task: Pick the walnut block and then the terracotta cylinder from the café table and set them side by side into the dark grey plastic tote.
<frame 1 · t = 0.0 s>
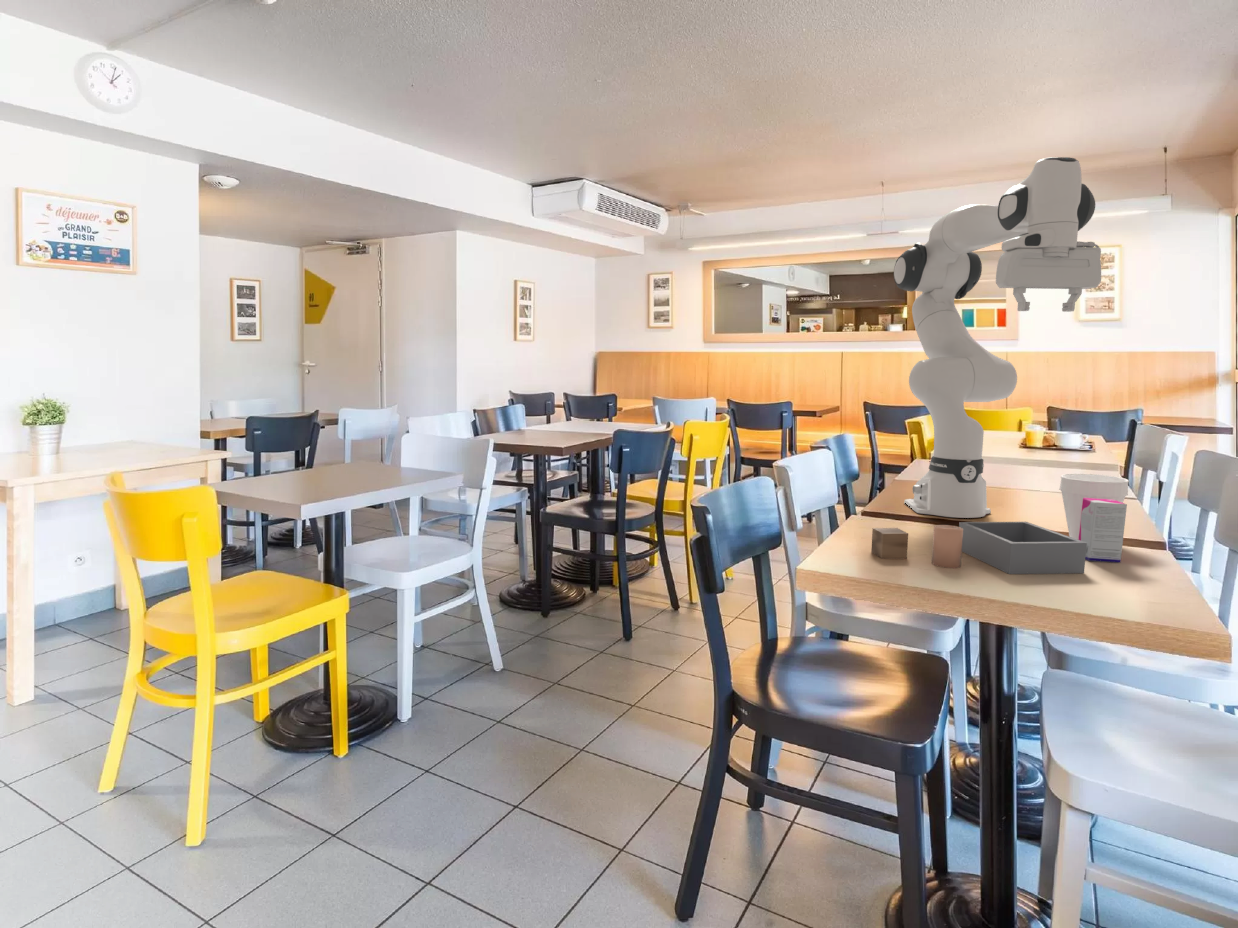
hand: (1045, 311, 150), 48 cm above the table, fingers open, 8 cm apart
cylinder: (946, 564, 139), on the table
supplement box: (1098, 559, 144), on the table
cup: (1088, 541, 158), on the table
tote: (1016, 560, 142), on the table
block: (888, 555, 145), on the table
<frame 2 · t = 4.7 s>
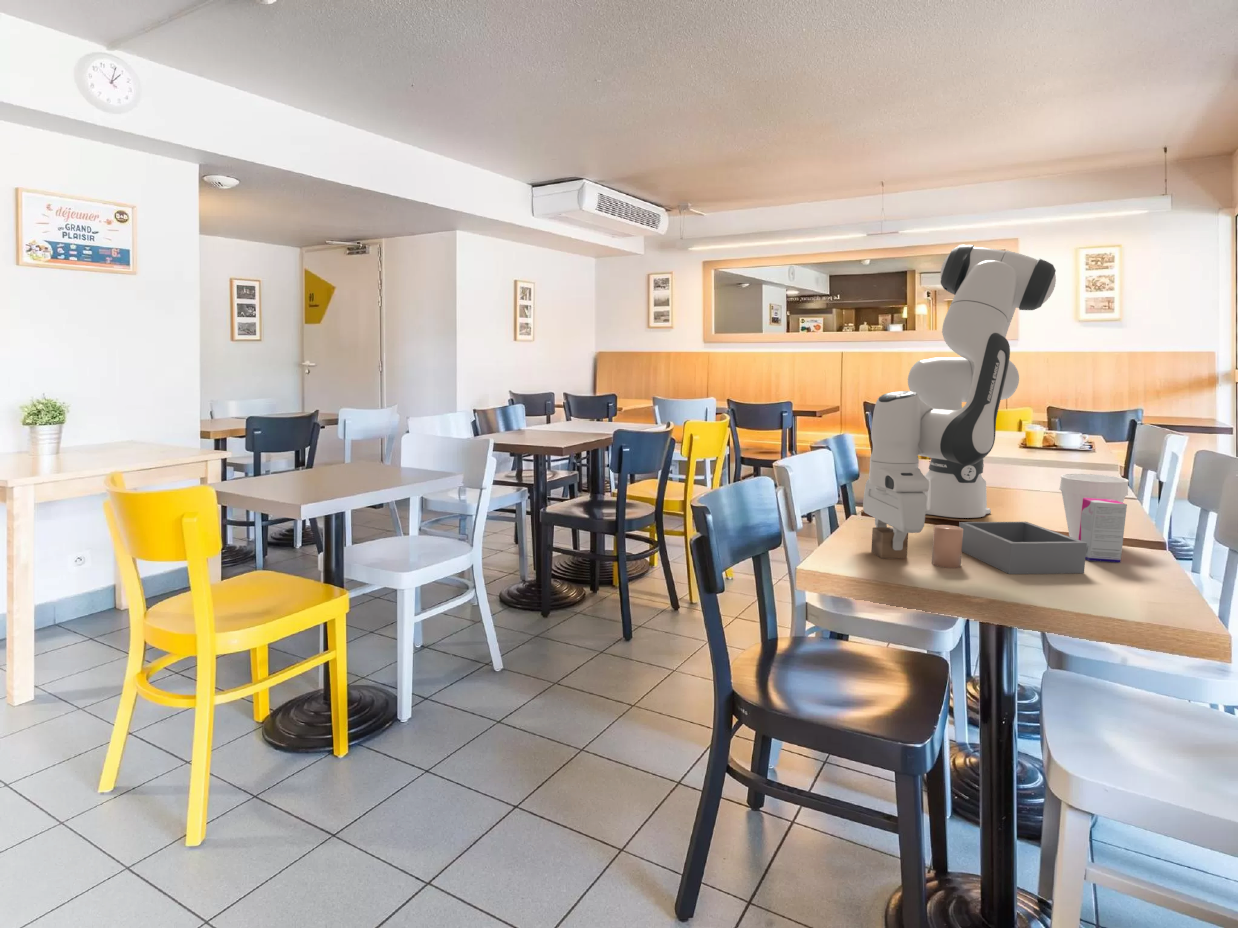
hand: (889, 545, 145), 2 cm above the table, fingers closed on block, 5 cm apart
block: (888, 555, 145), on the table, touching gripper
everything else where it was.
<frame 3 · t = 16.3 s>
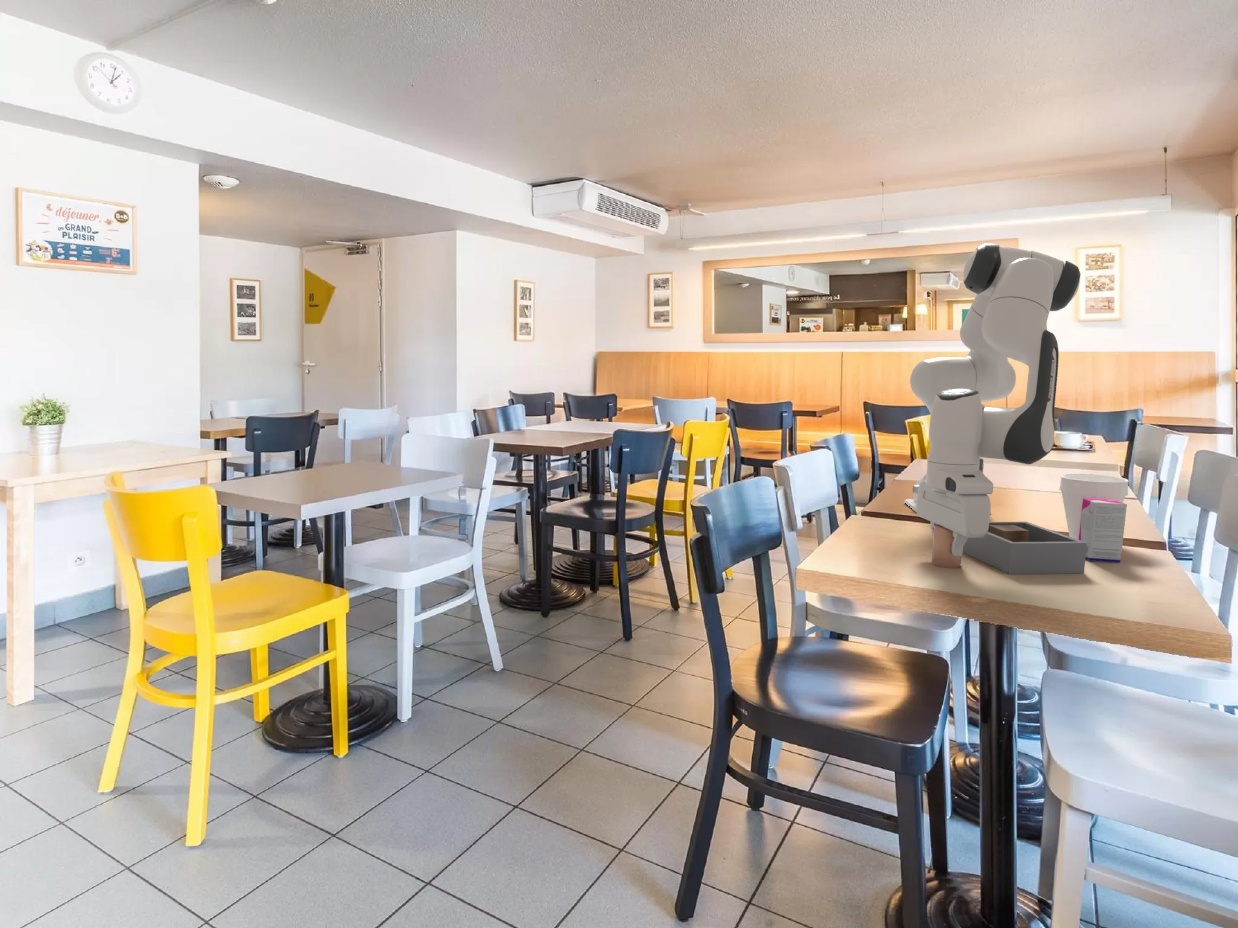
hand: (947, 550, 138), 3 cm above the table, fingers closed on cylinder, 5 cm apart
cylinder: (946, 564, 139), on the table, touching gripper
block: (1006, 552, 145), point 1 cm above the table, touching tote
everything else where it was.
when the fingers open (6 cm above the table, at t = 22.4 s): cylinder drops 3 cm, resting on tote.
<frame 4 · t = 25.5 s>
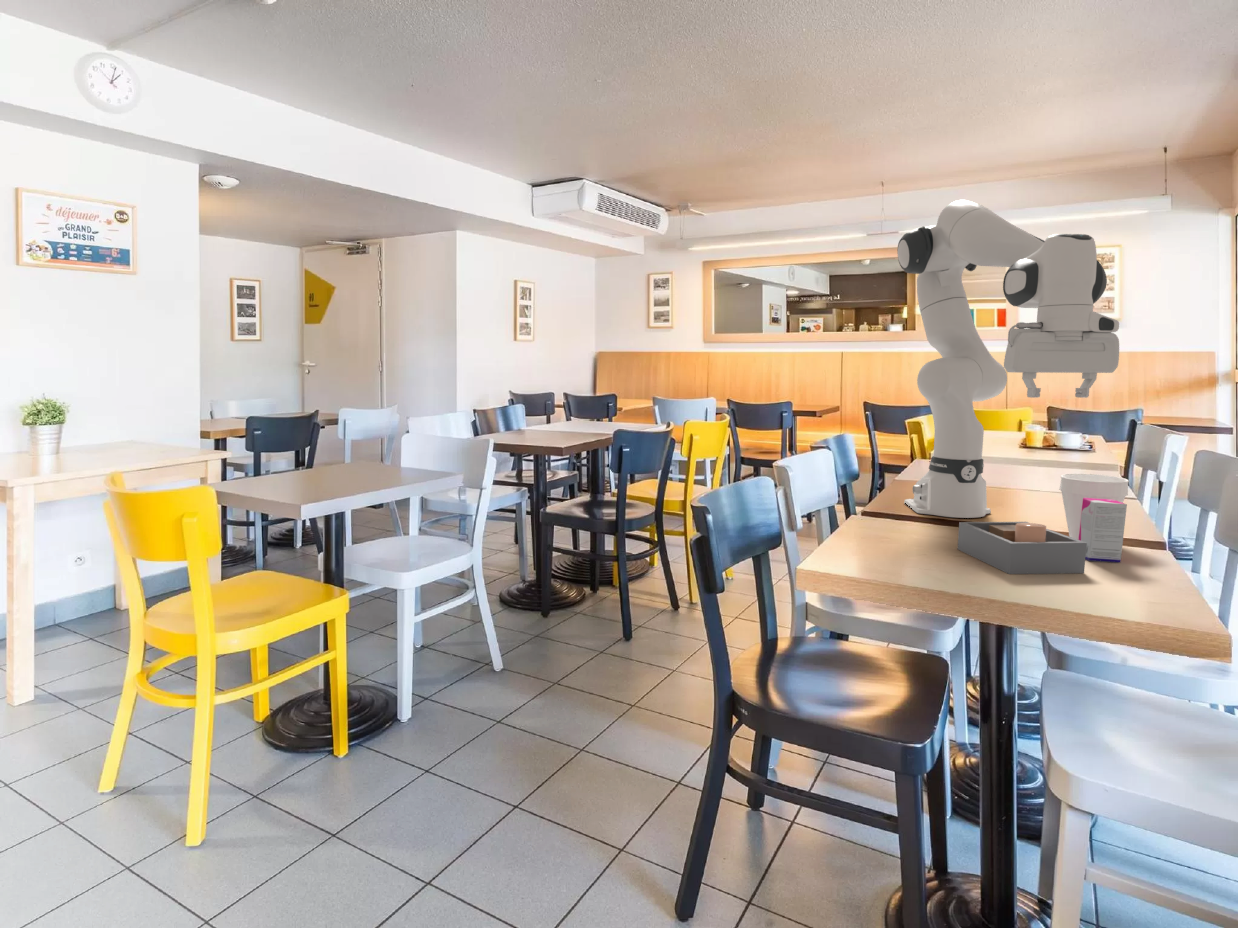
hand: (1057, 397, 139), 31 cm above the table, fingers open, 8 cm apart
cylinder: (1029, 562, 138), point 1 cm above the table, touching tote
everything else where it was.
at the end: block inside the target area on the tote (3.5 cm from its centre), point 0.6 cm above the tote's base; cylinder inside the target area on the tote (3.9 cm from its centre), point 0.7 cm above the tote's base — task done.
